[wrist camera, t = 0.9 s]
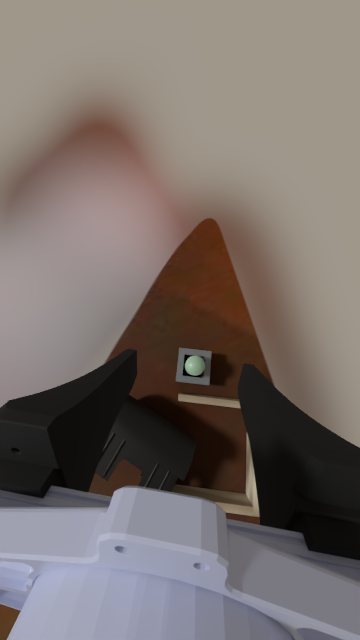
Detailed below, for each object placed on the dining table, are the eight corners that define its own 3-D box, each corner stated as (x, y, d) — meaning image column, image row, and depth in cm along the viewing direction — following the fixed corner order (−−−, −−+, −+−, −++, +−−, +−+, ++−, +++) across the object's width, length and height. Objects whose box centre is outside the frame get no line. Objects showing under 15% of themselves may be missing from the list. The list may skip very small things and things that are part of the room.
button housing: (206, 384, 27) (209, 385, 24) (175, 380, 27) (175, 381, 25) (208, 353, 28) (211, 351, 26) (179, 349, 28) (179, 347, 26)
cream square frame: (252, 502, 23) (260, 516, 21) (168, 491, 23) (167, 504, 21) (252, 401, 26) (260, 403, 24) (178, 392, 26) (178, 393, 24)
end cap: (194, 430, 25) (199, 450, 19) (166, 485, 24) (162, 527, 17) (132, 390, 27) (117, 396, 20) (102, 439, 25) (75, 463, 18)
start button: (201, 376, 26) (204, 376, 23) (183, 374, 26) (184, 374, 23) (202, 358, 26) (205, 356, 23) (185, 356, 27) (186, 354, 23)
